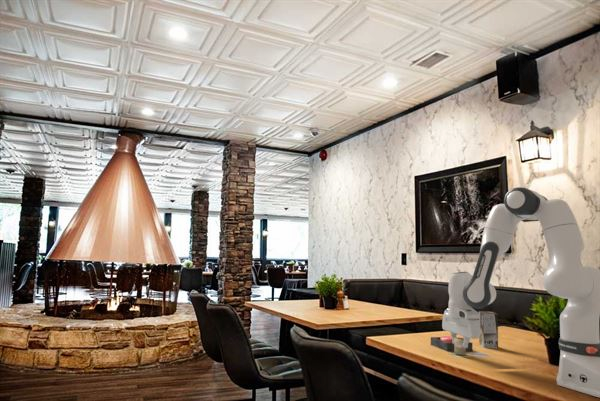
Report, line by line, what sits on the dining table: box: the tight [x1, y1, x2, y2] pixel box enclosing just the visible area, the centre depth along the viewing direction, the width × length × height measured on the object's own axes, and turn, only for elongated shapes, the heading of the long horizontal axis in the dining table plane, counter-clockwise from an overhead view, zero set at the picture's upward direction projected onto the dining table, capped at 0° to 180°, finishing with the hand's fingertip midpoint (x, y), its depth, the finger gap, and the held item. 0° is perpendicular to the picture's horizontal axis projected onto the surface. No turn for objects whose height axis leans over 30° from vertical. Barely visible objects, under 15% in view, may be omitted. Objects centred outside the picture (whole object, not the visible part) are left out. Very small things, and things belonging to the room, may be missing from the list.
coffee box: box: [478, 310, 499, 350], centre depth 191 cm, size 9×6×16 cm
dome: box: [439, 335, 452, 343], centre depth 183 cm, size 9×9×4 cm
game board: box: [430, 336, 490, 358], centre depth 177 cm, size 24×16×4 cm, turn 15°
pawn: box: [453, 337, 467, 355], centre depth 170 cm, size 4×4×6 cm
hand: (460, 345), depth 170 cm, fingers open, 5 cm apart
